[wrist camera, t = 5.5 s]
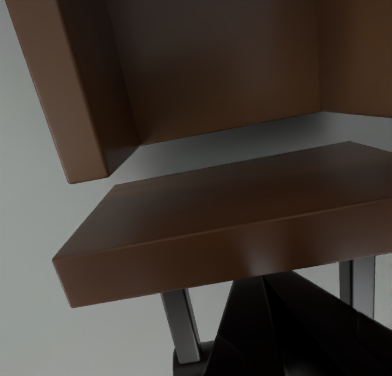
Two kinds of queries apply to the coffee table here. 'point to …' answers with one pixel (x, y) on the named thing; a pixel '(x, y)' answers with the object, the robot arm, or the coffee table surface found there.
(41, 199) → the coffee table surface
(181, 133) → the drawer
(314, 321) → the robot arm
